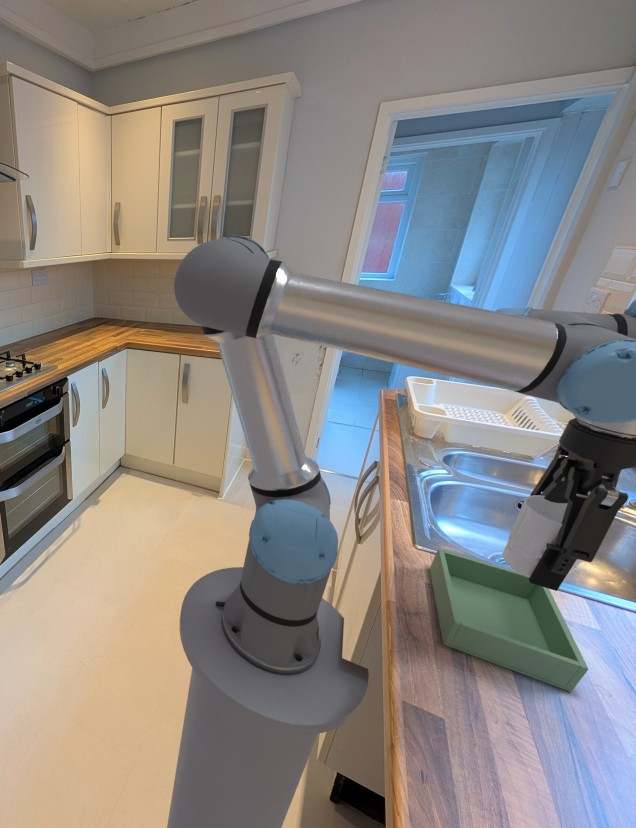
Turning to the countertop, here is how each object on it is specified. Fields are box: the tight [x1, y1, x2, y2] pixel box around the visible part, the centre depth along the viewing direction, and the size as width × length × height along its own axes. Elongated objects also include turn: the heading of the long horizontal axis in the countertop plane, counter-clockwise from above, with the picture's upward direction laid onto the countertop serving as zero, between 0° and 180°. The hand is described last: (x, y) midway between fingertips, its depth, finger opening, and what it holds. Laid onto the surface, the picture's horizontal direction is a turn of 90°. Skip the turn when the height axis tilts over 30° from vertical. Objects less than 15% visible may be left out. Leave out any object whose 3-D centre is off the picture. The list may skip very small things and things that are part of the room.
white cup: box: [501, 495, 584, 584], centre depth 60 cm, size 8×8×10 cm
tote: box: [428, 548, 589, 693], centre depth 70 cm, size 15×19×5 cm
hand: (533, 565), depth 62 cm, fingers closed on white cup, 8 cm apart
